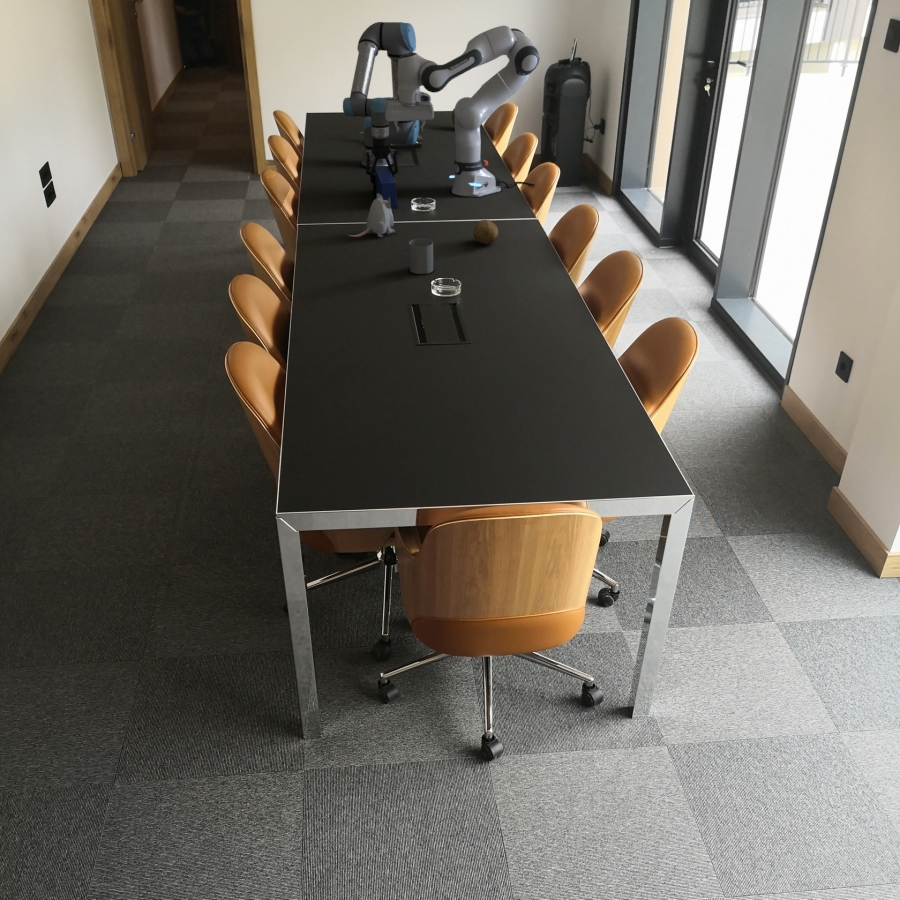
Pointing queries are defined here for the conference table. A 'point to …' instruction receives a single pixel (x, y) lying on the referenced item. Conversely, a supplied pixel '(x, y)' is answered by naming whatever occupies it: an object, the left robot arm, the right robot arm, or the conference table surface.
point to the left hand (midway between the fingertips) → (382, 189)
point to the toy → (379, 218)
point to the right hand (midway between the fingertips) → (409, 131)
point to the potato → (485, 232)
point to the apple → (453, 117)
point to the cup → (421, 256)
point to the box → (385, 184)
